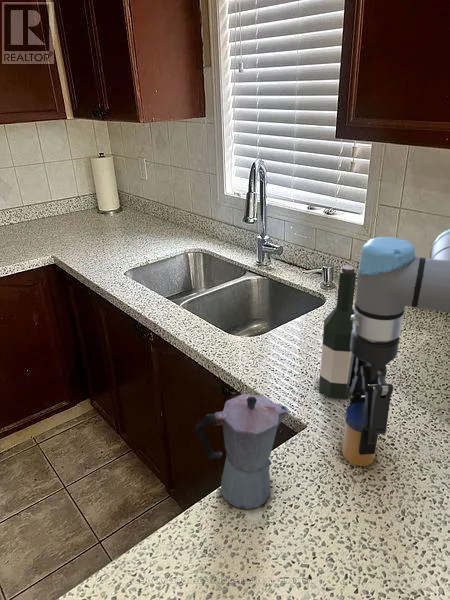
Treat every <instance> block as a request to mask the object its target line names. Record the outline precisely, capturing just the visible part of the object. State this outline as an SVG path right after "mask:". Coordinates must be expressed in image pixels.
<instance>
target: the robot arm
mask: <svg viewBox="0 0 450 600" xmlns="http://www.w3.org/2000/svg"><path fill="white" fill-rule="evenodd" d="M429 253H430V254H429V258H426V257H420V256H416V252H415V246H414V244H413V243H412V242H411V241H409V240H407V239H400V238H399V237H392V236H380V237H379V236H378V237H374V238H371V239H369V240H367V241H366V242H365V243H364V244H363V245H362V248H361V253H360V254H361V255H360V259H359V265H358V269H357V277H356V287H355V301H354V308H353V310H354V315H351V320H352V321H353V330H352V332H351V341H350V350H351V352H352V355H351V362H350V368H349V374H348V381H347V386H348V387H351V389H350V396H349V397H350V399H349V405H350V404H352V403H356V402H365V424H362V425H361V429H362V431H361V438H360V445H359V454H360V455H364V454H375V455H376V453H375V450H376V451H377V447H376V444H377V445H378V441H377V438H378V439H379V435H385V434H387V429H388V420H389V411H390V405H391V397H392V394H393V391H394V386H393V384H392V383H387V381H386V377H387V365H388V364H389V363H391V362H392V361H393V360H395V359H396V357H397V355H398V352H399V351H398V350H399V345H400V336H401V333H402V327H403V322H404V317H405V310H406V308H405V307H409V308H416V309H417V308H418V309H423V310H428V311H434V312H441V313H446V314H450V228H449V229H447V230H445V231H443V232H442V233H440V234H439V235H438V236H437V237H436V239H435V240H434V242H433V244H432V246H431V250H430V252H429ZM352 380H353V381H352ZM378 434H379V435H378Z"/></svg>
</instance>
